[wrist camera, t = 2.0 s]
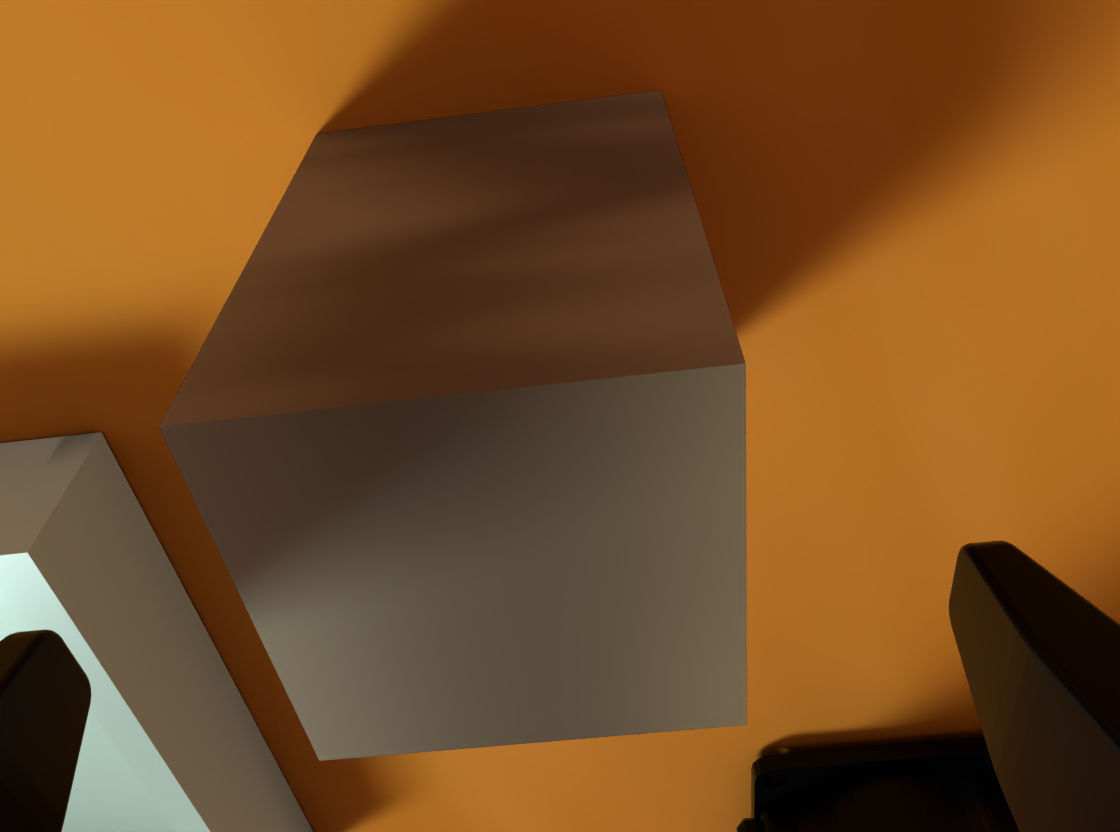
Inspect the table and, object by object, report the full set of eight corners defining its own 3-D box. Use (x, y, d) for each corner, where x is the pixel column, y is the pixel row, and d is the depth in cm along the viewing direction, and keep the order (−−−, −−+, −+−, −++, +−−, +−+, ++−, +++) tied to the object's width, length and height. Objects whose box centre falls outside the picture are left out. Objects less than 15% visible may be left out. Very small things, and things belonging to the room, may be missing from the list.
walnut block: (660, 89, 13) (744, 362, 8) (676, 376, 16) (747, 724, 11) (317, 133, 14) (159, 426, 8) (395, 407, 17) (319, 760, 11)
